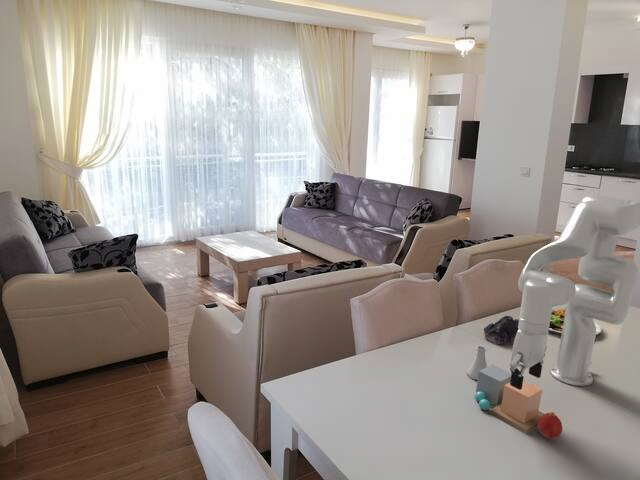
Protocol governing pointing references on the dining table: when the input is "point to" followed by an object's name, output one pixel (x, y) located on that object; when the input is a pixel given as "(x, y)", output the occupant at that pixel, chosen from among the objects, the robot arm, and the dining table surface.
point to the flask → (477, 363)
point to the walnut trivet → (514, 422)
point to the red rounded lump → (550, 425)
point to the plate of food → (558, 321)
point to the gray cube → (493, 383)
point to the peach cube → (521, 401)
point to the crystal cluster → (502, 331)
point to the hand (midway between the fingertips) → (525, 381)
